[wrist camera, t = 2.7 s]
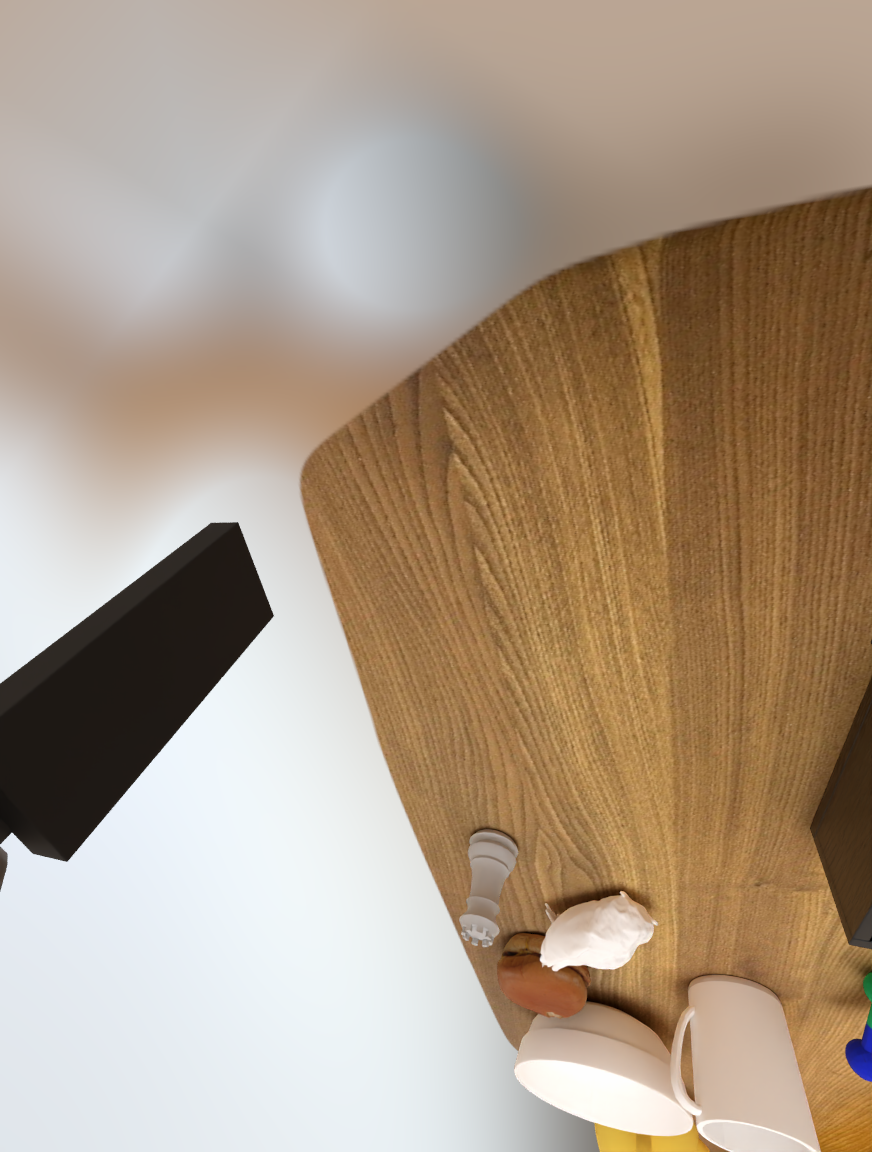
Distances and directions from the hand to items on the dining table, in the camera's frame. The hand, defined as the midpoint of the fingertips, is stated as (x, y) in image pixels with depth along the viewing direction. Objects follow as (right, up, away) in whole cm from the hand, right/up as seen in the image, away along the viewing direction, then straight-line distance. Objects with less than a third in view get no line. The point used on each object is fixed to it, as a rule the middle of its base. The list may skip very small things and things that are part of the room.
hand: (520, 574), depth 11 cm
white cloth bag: (+13, -30, +38) cm, 50 cm away
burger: (+10, -41, +46) cm, 62 cm away
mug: (+26, -41, +40) cm, 63 cm away
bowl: (+18, -52, +51) cm, 75 cm away
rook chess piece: (+4, -24, +37) cm, 44 cm away
